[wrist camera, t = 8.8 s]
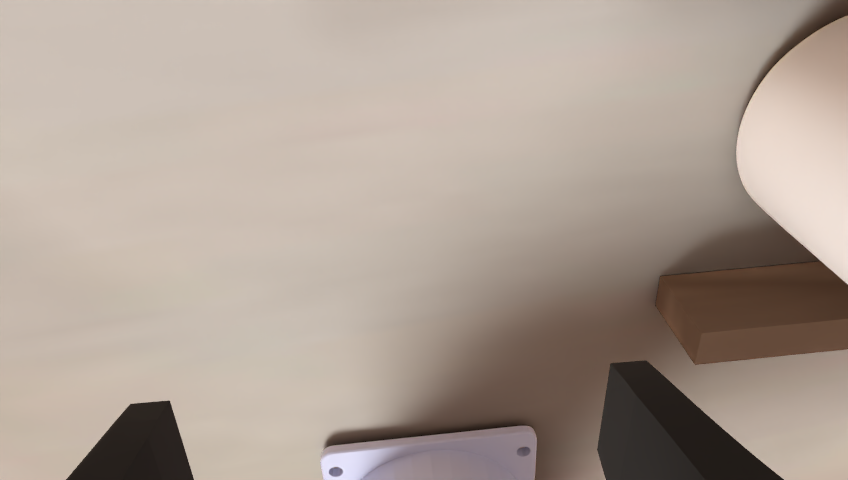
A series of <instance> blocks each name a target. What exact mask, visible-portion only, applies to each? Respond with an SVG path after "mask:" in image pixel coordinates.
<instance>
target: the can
mask: <svg viewBox="0 0 848 480" xmlns="http://www.w3.org/2000/svg"><path fill="white" fill-rule="evenodd" d="M736 159H737V167H738V172H739V175H740V179H741V181H742V184H743V186H744V188H745V189H746V191H747V193H748V194H749V195H750V197H751V198H752V199H753V200H754V201H755V202H756V203H757V204H758V205H759V206H760V207H761V208H762V209H763V210H764V211H765V212H766V213H767V214H768V215H769V216H770V217H772V218H773V219H774V220H775V221H776V222H777V223H778V224H779V225H780V226H782V227H783V228H784V229H785V230H786V231H787V232H788V233H789V234H791V235H792V236H793V237H794V238H795V239H796V240H797V241H799V242H800V243H801V244H802V245H803V246H804V247H805V248H807V249H808V250H809V251H810V252H811V253H812V254H813V255H815V256H816V257H817V258H818V259H819V260H820V261H821V262H822V263H824V264H825V265H826V266H827V267H828V268H829V269H831V270H832V271H833V272H834V273H835V274H836V275H837V276H839V277H840V278H841V279H842V280H843V281H844V282H845V283H847V284H848V16H845V17H843V18H840V19H838V20H836V21H834V22H832V23H830V24H828V25H826V26H824V27H823V28H821V29H819V30H818V31H816V32H815V33H813V34H811V35H810V36H809V37H807V38H806V39H804V40H803V41H802V42H800V43H799V44H798V45H796V46H795V47H794V48H793V49H791V50H790V51H789V52H788V53H787V54H786V55H785V56H783V57H782V58H781V59H780V60H779V61H778V62H777V63H776V64H775V66H774V67H773V68H772V69H771V70H770V71H769V73H768V74H767V75H766V76H765V78H764V79H763V80H762V82H761V83H760V85H759V86H758V88H757V89H756V91H755V93H754V94H753V96H752V98H751V100H750V102H749V104H748V106H747V108H746V111H745V113H744V116H743V119H742V122H741V125H740V129H739V133H738V138H737V148H736Z"/></svg>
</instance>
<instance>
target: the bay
mask: <svg viewBox="0 0 848 480" xmlns="http://www.w3.org/2000/svg"><path fill="white" fill-rule="evenodd" d="M655 306H656V307H657V309H658V310H659V312H660V313H661V315H662V316H663V318H664V319H665V321H666V322H667V324H668V325H669V327H670V328H671V330H672V331H673V333H674V334H675V336H676V337H677V339H678V340H679V342H680V343H681V345H682V346H683V348H684V349H685V351H686V352H687V354H688V355H689V357H690V358H691V360H692V361H693V363H694V364H695V365H697V364H706V363H716V362H726V361H736V360H746V359H756V358H765V357H775V356H785V355H795V354H805V353H815V352H824V351H834V350H844V349H848V284H847V283H845V282H844V281H843V280H842V279H841V278H840V277H839V276H837V275H836V274H835V273H834V272H833V271H832V270H831V269H829V268H828V267H827V266H826V265H825V264H824V263H822V262H821V261H818V262H807V263H796V264H786V265H775V266H764V267H754V268H743V269H732V270H722V271H711V272H700V273H690V274H679V275H668V276H660V280H659V286H658V293H657V299H656V305H655Z"/></svg>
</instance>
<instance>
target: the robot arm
mask: <svg viewBox="0 0 848 480" xmlns="http://www.w3.org/2000/svg"><path fill="white" fill-rule="evenodd" d="M521 447H524V448H521ZM536 449H537V438H536V434H535V431H534V429H533V428H532V427H529V426H513V427H504V428H494V429H485V430H475V431H466V432H456V433H447V434H437V435H428V436H418V437H409V438H399V439H390V440H380V441H371V442H361V443H352V444H342V445H333V446H329V447H327V448H325V449H324V450H323V451H322V452H321V468H322V473H323V479H324V480H535V467H536ZM597 450H598V454H599V457H600V461H601V464H602V468H603V471H604V474H605V478H606V480H784V479H782V478H781V477H780V476H778V475H777V474H776V473H775V472H774V471H772V470H771V469H770V468H769V467H767V466H766V465H765V464H764V463H762V462H761V461H760V460H759V459H758V458H756V457H755V456H754V455H753V454H752V453H750V452H749V451H748V450H747V449H746V448H744V447H743V446H742V445H741V444H740V443H739V442H737V441H736V440H735V439H734V438H733V437H731V436H730V435H729V434H728V433H727V432H726V431H724V430H723V429H722V428H721V427H720V426H719V425H718V424H716V423H715V422H714V421H713V420H712V419H711V418H710V417H709V416H707V415H706V414H705V413H704V412H703V411H702V410H701V409H700V408H698V407H697V406H696V405H695V404H694V403H693V402H692V401H691V400H690V399H688V398H687V397H686V396H685V395H684V394H683V393H682V392H681V391H680V390H679V389H677V388H676V387H675V386H674V385H673V384H672V383H671V382H670V381H669V380H668V379H666V378H665V377H664V376H663V375H662V374H661V373H660V372H659V371H658V370H656V369H655V368H654V367H653V366H652V365H651V364H650V363H649V362H647V361H635V362H623V363H611V364H610V371H609V377H608V384H607V390H606V397H605V403H604V410H603V416H602V423H601V429H600V436H599V442H598V449H597ZM333 467H339V468H333ZM66 480H194V479H193V475H192V472H191V469H190V466H189V462H188V459H187V456H186V452H185V449H184V446H183V443H182V439H181V436H180V433H179V430H178V426H177V423H176V420H175V416H174V413H173V410H172V407H171V403H170V401H160V402H148V403H137V404H130V405H129V406H128V408H127V409H126V410H125V411H124V412H123V413H122V414H121V415H120V417H119V418H118V419H117V420H116V421H115V422H114V424H113V425H112V426H111V427H110V428H109V430H108V431H107V432H106V433H105V434H104V435H103V437H102V438H101V439H100V440H99V441H98V443H97V444H96V445H95V446H94V447H93V449H92V450H91V451H90V452H89V453H88V455H87V456H86V457H85V458H84V459H83V460H82V462H81V463H80V464H79V465H78V466H77V468H76V469H75V470H74V471H73V472H72V473H71V475H70V476H69V477H68V478H67V479H66Z"/></svg>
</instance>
